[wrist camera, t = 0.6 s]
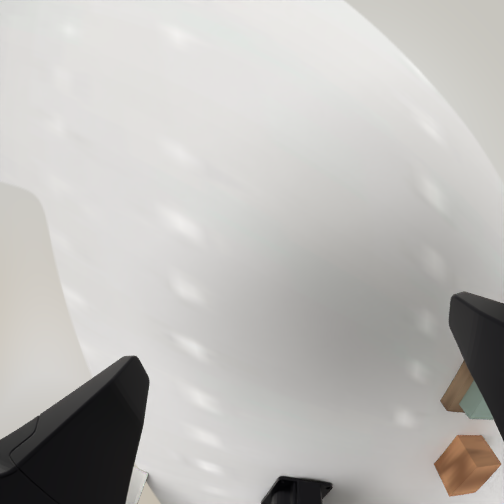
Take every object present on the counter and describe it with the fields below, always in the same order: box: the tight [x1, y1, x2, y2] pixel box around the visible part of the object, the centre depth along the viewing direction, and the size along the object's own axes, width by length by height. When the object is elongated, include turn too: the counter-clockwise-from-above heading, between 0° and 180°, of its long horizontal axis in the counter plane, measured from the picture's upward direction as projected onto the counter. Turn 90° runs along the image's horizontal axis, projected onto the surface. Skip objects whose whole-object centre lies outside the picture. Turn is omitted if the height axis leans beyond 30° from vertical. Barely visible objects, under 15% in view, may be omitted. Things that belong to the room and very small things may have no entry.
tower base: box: [440, 361, 474, 413], centre depth 23 cm, size 10×10×2 cm
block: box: [434, 435, 501, 497], centre depth 23 cm, size 5×5×6 cm
